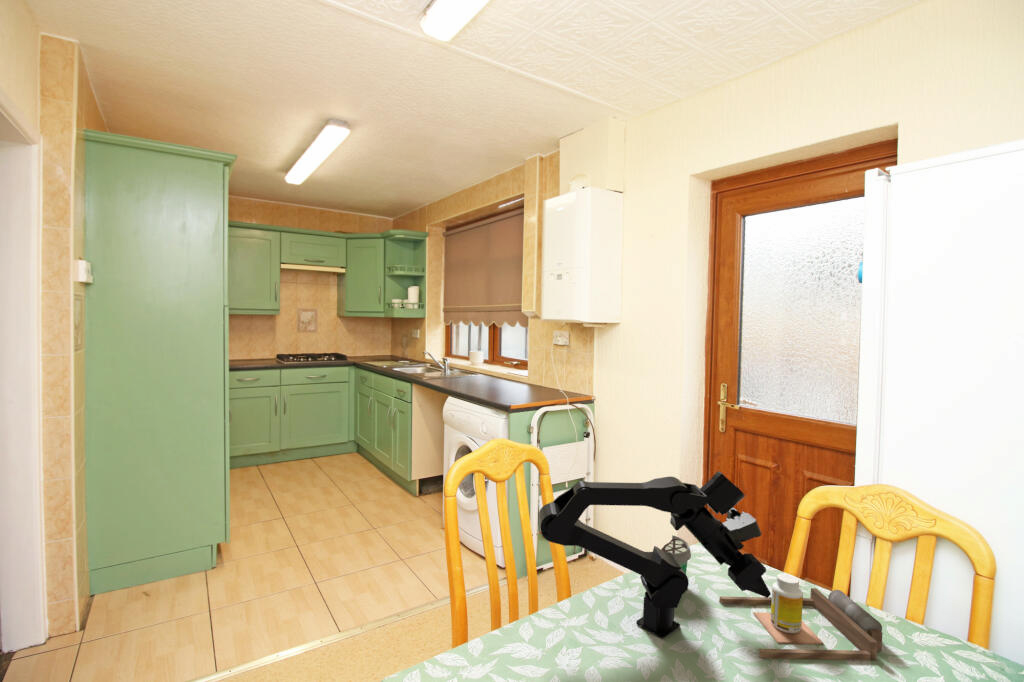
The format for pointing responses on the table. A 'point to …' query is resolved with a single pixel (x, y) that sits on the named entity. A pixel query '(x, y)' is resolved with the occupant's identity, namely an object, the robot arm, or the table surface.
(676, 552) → the food container
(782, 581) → the supplement bottle
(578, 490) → the robot arm
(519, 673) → the table surface
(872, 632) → the frame
